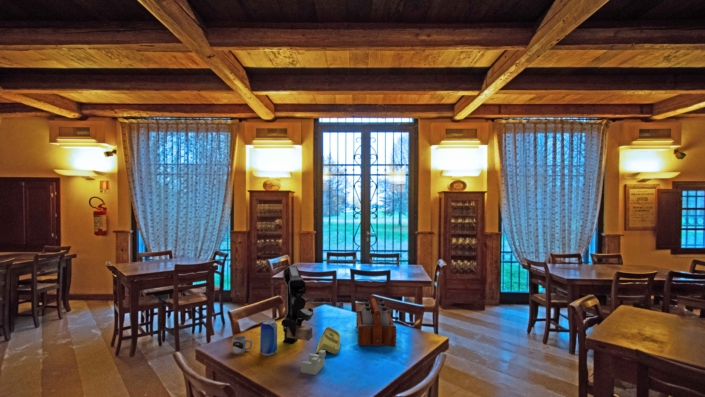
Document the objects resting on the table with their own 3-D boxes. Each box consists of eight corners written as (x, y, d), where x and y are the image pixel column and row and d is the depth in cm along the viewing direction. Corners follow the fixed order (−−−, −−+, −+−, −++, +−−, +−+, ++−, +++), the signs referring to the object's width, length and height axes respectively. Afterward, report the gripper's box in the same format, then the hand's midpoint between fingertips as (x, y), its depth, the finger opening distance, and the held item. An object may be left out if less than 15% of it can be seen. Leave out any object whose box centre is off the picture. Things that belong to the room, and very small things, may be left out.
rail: (286, 337, 160) (287, 327, 160) (290, 334, 164) (291, 324, 164) (308, 340, 156) (308, 330, 156) (312, 337, 160) (312, 327, 160)
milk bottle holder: (358, 348, 172) (358, 311, 173) (356, 324, 207) (356, 294, 208) (397, 348, 173) (397, 312, 173) (388, 324, 208) (388, 294, 208)
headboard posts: (300, 372, 146) (300, 357, 146) (310, 362, 155) (310, 347, 156) (316, 375, 143) (316, 360, 143) (325, 365, 153) (325, 350, 153)
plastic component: (339, 350, 164) (321, 341, 164) (332, 363, 164) (315, 354, 164) (340, 332, 183) (325, 325, 183) (335, 344, 184) (319, 336, 184)
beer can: (280, 350, 168) (280, 319, 168) (270, 357, 160) (271, 325, 160) (266, 348, 171) (266, 317, 171) (256, 354, 163) (257, 323, 163)
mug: (230, 354, 163) (230, 341, 164) (234, 348, 170) (234, 335, 170) (250, 353, 164) (250, 340, 164) (253, 348, 171) (253, 335, 171)
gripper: (301, 310, 150) (301, 344, 149) (318, 300, 168) (318, 330, 167) (281, 308, 154) (280, 341, 153) (299, 298, 171) (299, 327, 171)
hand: (295, 334), depth 161 cm, fingers closed on rail, 4 cm apart
